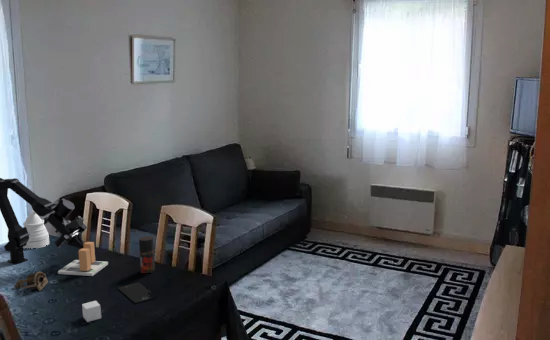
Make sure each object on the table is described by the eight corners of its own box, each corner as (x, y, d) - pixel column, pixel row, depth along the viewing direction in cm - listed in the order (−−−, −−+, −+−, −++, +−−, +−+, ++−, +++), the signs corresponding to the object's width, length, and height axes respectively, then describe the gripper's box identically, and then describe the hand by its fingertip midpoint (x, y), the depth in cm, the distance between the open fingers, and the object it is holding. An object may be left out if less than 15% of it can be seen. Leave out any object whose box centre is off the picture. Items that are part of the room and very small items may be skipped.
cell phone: (135, 305, 203) (135, 302, 203) (117, 289, 217) (117, 287, 217) (157, 298, 208) (157, 296, 208) (138, 284, 223) (138, 282, 222)
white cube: (96, 313, 196) (96, 300, 195) (101, 318, 192) (100, 305, 191) (83, 317, 193) (81, 304, 192) (87, 322, 189) (86, 308, 188)
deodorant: (138, 272, 234) (135, 239, 231) (147, 268, 239) (145, 235, 236) (148, 275, 231) (146, 241, 228) (157, 270, 236) (156, 237, 234)
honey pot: (54, 243, 274) (51, 208, 271) (31, 250, 264) (28, 214, 260) (39, 239, 281) (35, 205, 278) (16, 246, 270) (12, 211, 267)
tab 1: (84, 263, 241) (83, 243, 240) (88, 260, 244) (86, 241, 243) (92, 263, 241) (90, 244, 239) (95, 261, 244) (93, 242, 242)
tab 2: (80, 270, 233) (78, 250, 231) (83, 268, 236) (82, 248, 234) (87, 271, 232) (85, 251, 230) (91, 268, 235) (89, 248, 233)
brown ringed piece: (27, 283, 210) (49, 270, 218) (8, 274, 217) (30, 261, 224) (32, 298, 213) (53, 285, 221) (12, 288, 220) (34, 276, 227)
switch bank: (58, 273, 234) (57, 270, 233) (75, 262, 247) (75, 259, 247) (92, 276, 231) (92, 273, 231) (108, 264, 244) (107, 261, 244)
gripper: (58, 218, 231) (84, 244, 231) (81, 206, 249) (105, 231, 249) (43, 235, 233) (69, 260, 234) (67, 222, 251) (91, 246, 252)
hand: (84, 248), depth 242 cm, fingers closed, pressing on tab 1
